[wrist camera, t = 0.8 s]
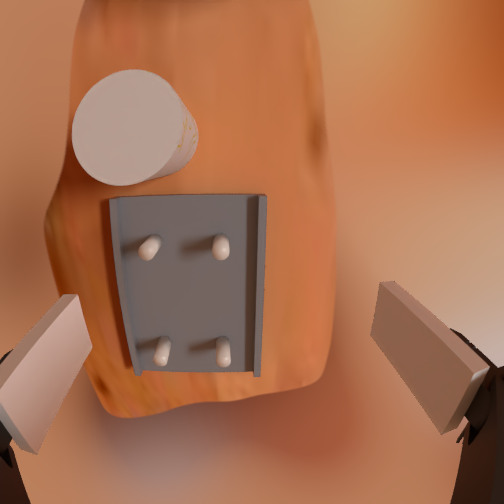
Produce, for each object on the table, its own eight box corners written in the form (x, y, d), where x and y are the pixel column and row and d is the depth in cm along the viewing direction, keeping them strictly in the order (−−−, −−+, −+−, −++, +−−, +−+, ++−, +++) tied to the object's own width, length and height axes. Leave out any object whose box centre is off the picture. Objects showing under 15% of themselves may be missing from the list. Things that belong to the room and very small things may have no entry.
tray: (116, 196, 30) (98, 203, 25) (264, 193, 32) (271, 199, 27) (138, 365, 36) (130, 389, 32) (258, 366, 38) (262, 391, 33)
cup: (210, 154, 30) (203, 150, 18) (142, 189, 30) (98, 206, 19) (179, 88, 27) (155, 49, 16) (112, 124, 28) (58, 109, 16)
